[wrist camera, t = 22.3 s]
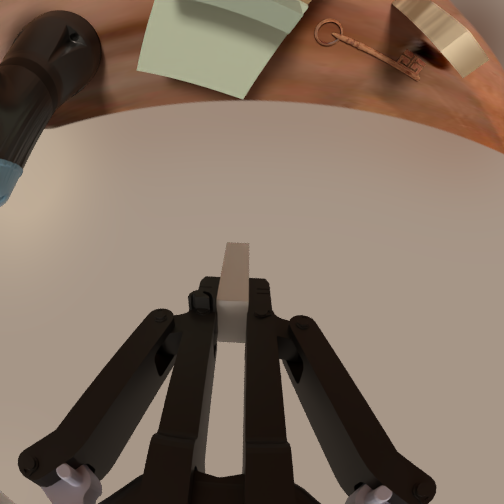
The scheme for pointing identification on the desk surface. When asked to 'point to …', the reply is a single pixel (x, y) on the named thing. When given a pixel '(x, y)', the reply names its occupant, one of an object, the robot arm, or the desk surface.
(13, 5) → the desk surface
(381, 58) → the key
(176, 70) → the lid
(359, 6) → the desk surface
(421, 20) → the block
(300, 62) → the desk surface
